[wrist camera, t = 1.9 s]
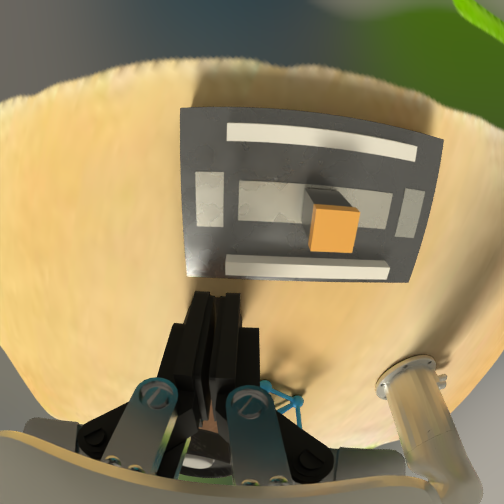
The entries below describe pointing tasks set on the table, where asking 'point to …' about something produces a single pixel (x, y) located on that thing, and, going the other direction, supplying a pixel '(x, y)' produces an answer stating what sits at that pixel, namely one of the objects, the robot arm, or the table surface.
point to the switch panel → (301, 193)
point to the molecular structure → (294, 401)
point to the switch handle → (329, 221)
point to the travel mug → (207, 445)
